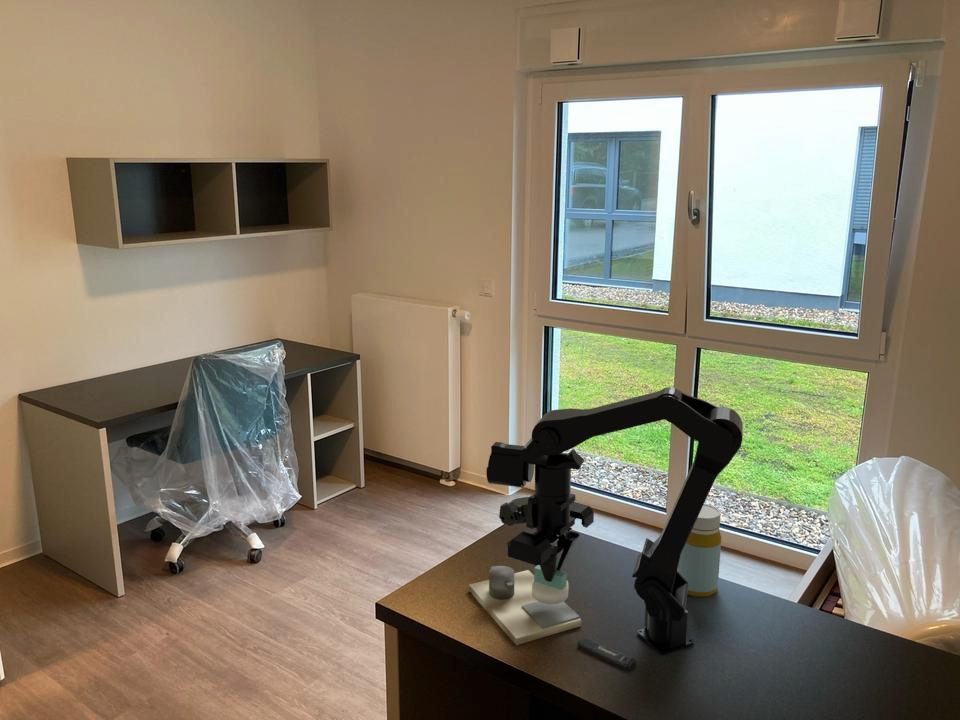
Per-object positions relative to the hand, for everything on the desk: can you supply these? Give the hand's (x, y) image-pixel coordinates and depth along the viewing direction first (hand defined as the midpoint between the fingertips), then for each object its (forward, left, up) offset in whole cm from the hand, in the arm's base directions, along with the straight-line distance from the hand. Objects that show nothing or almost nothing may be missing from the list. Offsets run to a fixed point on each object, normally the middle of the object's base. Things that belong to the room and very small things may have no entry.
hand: (551, 578), depth 127 cm
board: (+5, +3, -8) cm, 9 cm away
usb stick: (-12, -3, -8) cm, 15 cm away
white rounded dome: (0, 0, -3) cm, 3 cm away
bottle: (-3, -28, -8) cm, 30 cm away
